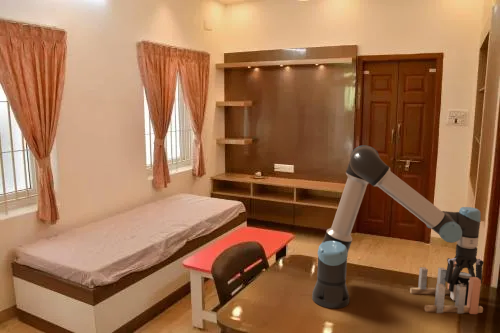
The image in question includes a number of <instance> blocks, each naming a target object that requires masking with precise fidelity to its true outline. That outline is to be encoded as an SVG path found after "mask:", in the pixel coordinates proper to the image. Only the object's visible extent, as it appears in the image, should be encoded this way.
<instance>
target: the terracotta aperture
mask: <svg viewBox="0 0 500 333" xmlns="http://www.w3.org/2000/svg"><path fill="white" fill-rule="evenodd" d="M455 265H456V261H455V264H454V267H453V271H454V269H455ZM452 274H453V273H452ZM468 282H469V289H468V299H467V305H466V306H468V307H469V312H468V313H469V315H478V314H479V313H478V306H479V303H480V302H479V301H480V293H481V285H482V284H481V280H480V279H479V278H477V277H476V276H475V277H470V280H469V281H468ZM447 288H449V283H447ZM450 293H451V291H450Z"/></svg>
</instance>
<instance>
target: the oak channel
mask: <svg viewBox="0 0 500 333" xmlns="http://www.w3.org/2000/svg"><path fill="white" fill-rule="evenodd" d="M409 292H410V294H413V295H414V294H415V295H416V294H418V295H435V294H436V287H426V289H420V288H418V287H410V288H409ZM445 295H450V290H449V288H448V287H447V288H446V287H445ZM456 310H457V307H456V306H455V305H450V304H449V305H445V304H444V308H443V313H457V312H456ZM424 311H425V312H426V313H427V312H428V313H431V312H432V313H434V312H435V313H436V306H435V304H424ZM483 311H484V308H483V306H481V305H478V313H477V314H481V313H483ZM464 313H469V307H468V306H467V305H464Z"/></svg>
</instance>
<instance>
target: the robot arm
mask: <svg viewBox="0 0 500 333" xmlns="http://www.w3.org/2000/svg"><path fill="white" fill-rule="evenodd" d="M345 174H346V176H347V179H346V182H345V185H344V188H343V190H342V191H343V192H342V194H341V198H340V201H339V203H338V207H337V210H336V212H335V215H334V219H333V221H332V225H331V227H330V228H327V229H326V232H325V234H324V237H323V240H322V241H321V243H320V244H319V246H318V249H317V274H316V282H315V285H314V287H313V290H312V292H311V293H312V294H311V297H312V301H313V302H314V303H315V304H316V305H318V306H321V307H324V308H328V309H341V308H345V307H347V306H348V305H349V303H350V294H349V293H350V292H349V291H348V287H347V281H346V280H347V267H348V266H347V264H348V254H349V251H350V249H351V244H352V242H353V237H352V235H351V233H352V230H353V228H354V225H355V222H356V219H357V216H358V214H359V210H360V207H361V204H362V202H363V199H364V195H365V193H366V190H367V186H368V185H369V184H370V185H371V186H372V187H377V188H379V189H380V190H382V191H383V192H384V193H385V194H387V195H388V196H390V198H392V199H393V200H394V201H396V202H397V203H398V204H400V205H401V206H402V207H404V208H405V209H406V210H408V211H409V213H411V214H413V215H414V216H415V217H417V219H419V220H420V221H421V222H423V223H424V224H425V225H426V227H427V228H428V229H432V230H433V232H434V233H437V235H439V237H440V238H441V239H442V240H443V241H445V242H447V243H456V246H455V256H454V257H453V258H446V260H447V267H446V270H447V271H446V276H445V281H446V282H445V283H447V284H448V283H449V290H450V291H451V293H450V294H449V295H450V296H449V298H451V299H452V301H453V300H455V297H456V287H457V285H456V284H455V283H456V280H457V278H458V276H459V274H460V272H463V270H464V269H467V271H468V274H470V275H471V276H472V277H477V278H479V279H480V280H481V285H482V284H483V266H484V263H485V262H484V260H482V259H481V258H477V254H478V245H479V237H480V235H479V234H480V227H481V221H482V220H481V218H482V216H481V215H482V214H481V213H482V212H481V211H480V210H479V208H476V207H471V206H462V207H460V208H459V210H458V211H445V210H441V209H440V208H438V207H437V206H436V205H435V204H433V203H432V202H431V201H429V200H428V199H427V198H425V196H423V195H422V194H421V193H419V192H418V191H417V190H415V189H414V188H413V187H411V186H410V185H409V184H408V183H407V182H405V181H404V180H403V179H401V178H400V177H398V175H396V174H395V173H393V171H391V167H390V166H389V165H388V164H386V163H385V162H384V161H383V159H381V158H380V154H379V152H378V150H377V149H375V148H374V147H372V146H370V145H364V144H363V145H359V146H357V147H355V148H354V149H353V150H352V152H351V153H350V158H349V161H348V164H347V168H346V170H345ZM455 261H456V265H455V269H454V271H453V267H454V264H455ZM474 264H475V268H474ZM452 273H453V274H452Z"/></svg>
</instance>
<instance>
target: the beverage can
mask: <svg viewBox="0 0 500 333" xmlns="http://www.w3.org/2000/svg"><path fill="white" fill-rule="evenodd" d="M470 277H472V276H471V275H470V274H469V272H468V273H467V272H464V271H461V272H460V274H459V276H458V278H457V280H456V283H455V284H456V285H457V284H463V285H464V286H466V295H465V305H464V306H467V299H468V289H469V282H468V281H469V280H470ZM456 289H457V287H456ZM455 299H456V297H455ZM452 301H453V302H454V303H455V300H452Z"/></svg>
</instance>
